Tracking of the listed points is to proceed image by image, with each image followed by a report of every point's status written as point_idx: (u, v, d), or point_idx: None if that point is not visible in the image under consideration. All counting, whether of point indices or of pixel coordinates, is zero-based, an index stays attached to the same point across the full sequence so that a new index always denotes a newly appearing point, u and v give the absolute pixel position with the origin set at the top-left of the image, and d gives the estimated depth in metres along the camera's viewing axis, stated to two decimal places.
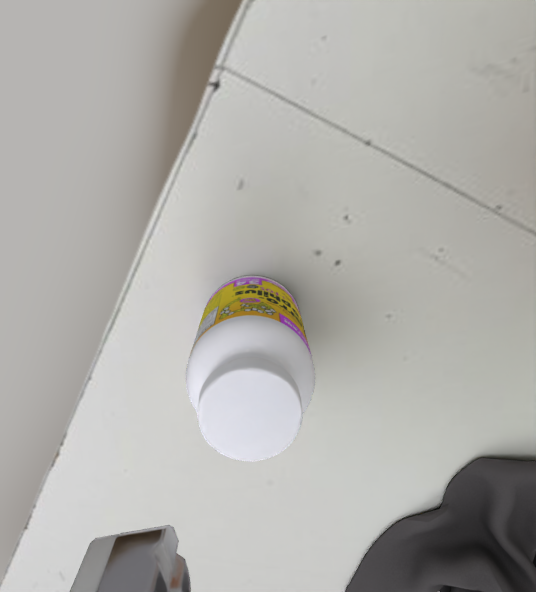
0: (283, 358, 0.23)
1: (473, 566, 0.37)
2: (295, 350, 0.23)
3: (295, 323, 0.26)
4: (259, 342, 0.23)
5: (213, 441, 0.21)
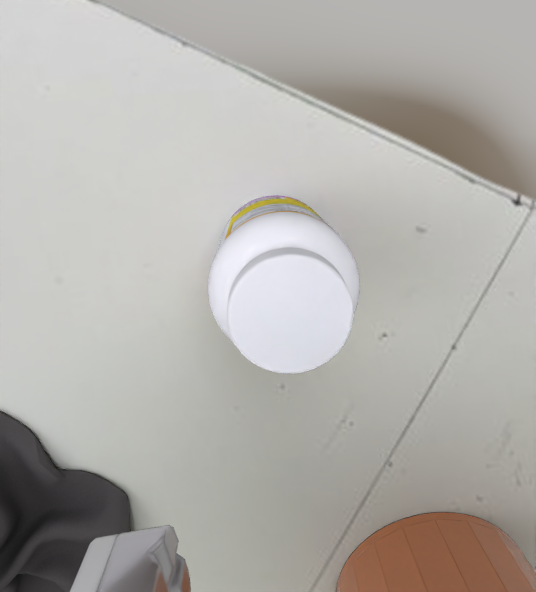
0: None
1: None
2: None
3: None
4: None
5: (256, 276, 0.17)
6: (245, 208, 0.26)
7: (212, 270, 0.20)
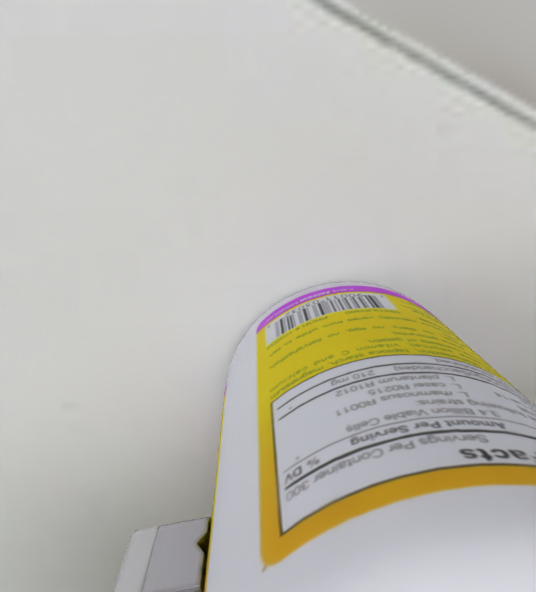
0: None
1: None
2: None
3: None
4: None
5: None
6: (297, 330, 0.10)
7: None
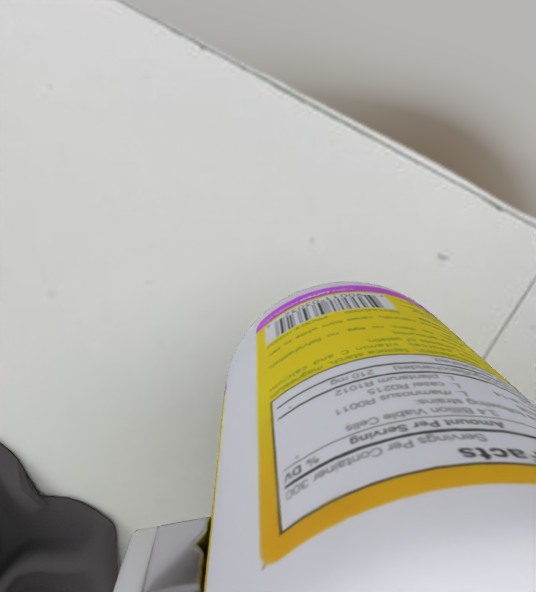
0: None
1: None
2: None
3: None
4: None
5: None
6: (296, 330, 0.10)
7: None
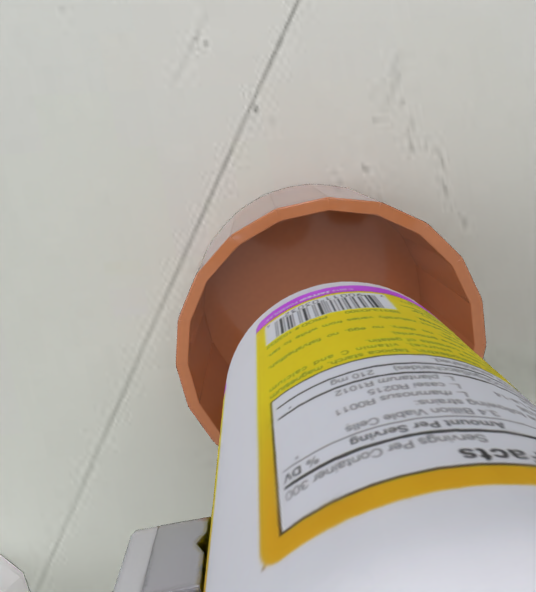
0: None
1: None
2: None
3: None
4: None
5: None
6: (296, 330, 0.10)
7: None
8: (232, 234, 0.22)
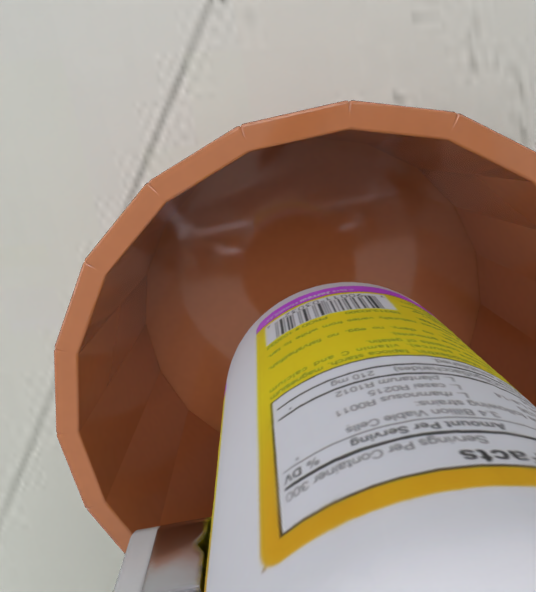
0: None
1: None
2: None
3: None
4: None
5: None
6: (296, 330, 0.10)
7: None
8: (153, 179, 0.11)
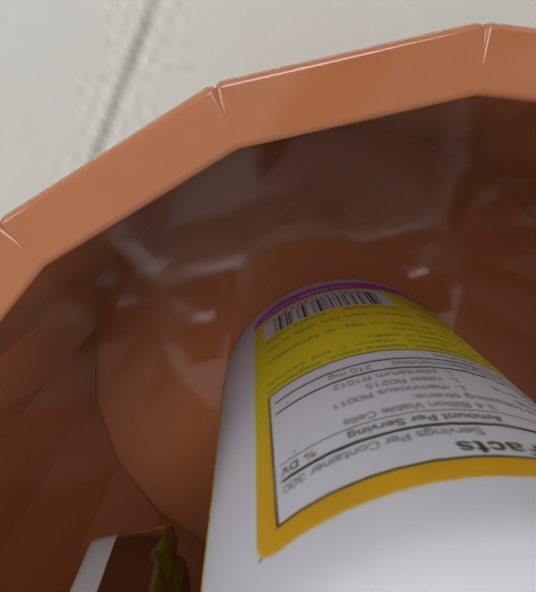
0: None
1: None
2: None
3: None
4: None
5: None
6: (295, 326, 0.10)
7: None
8: (11, 214, 0.05)
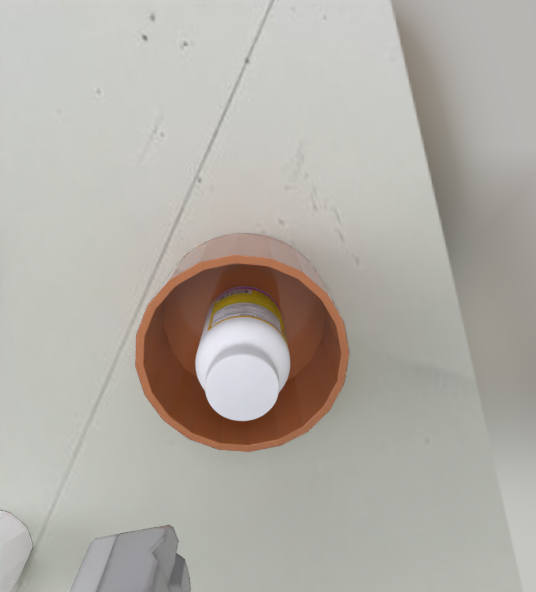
0: None
1: None
2: None
3: None
4: (279, 376, 0.33)
5: (222, 365, 0.30)
6: (223, 299, 0.38)
7: (198, 352, 0.33)
8: (171, 278, 0.33)
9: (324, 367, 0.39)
